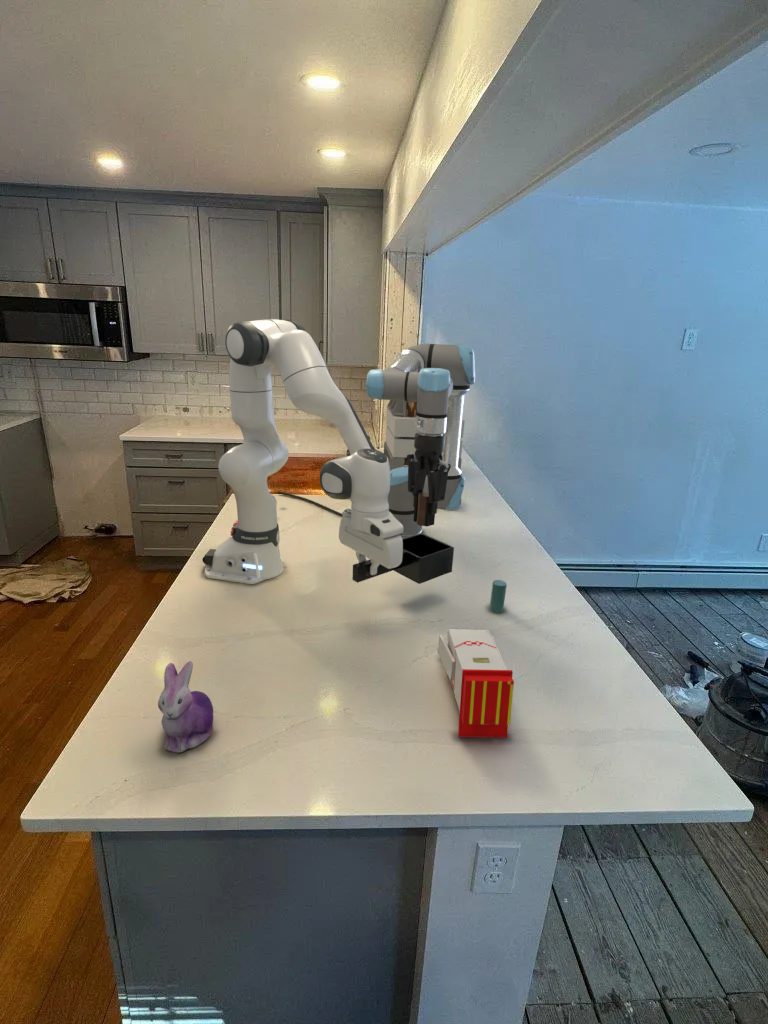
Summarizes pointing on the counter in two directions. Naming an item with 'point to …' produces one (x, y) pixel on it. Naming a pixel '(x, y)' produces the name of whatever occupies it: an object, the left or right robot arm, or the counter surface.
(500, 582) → the teal peg
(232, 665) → the counter surface
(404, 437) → the white slatted crate
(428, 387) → the right robot arm
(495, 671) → the toy
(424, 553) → the black box with handle
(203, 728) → the figurine
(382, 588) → the counter surface
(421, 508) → the walnut peg
